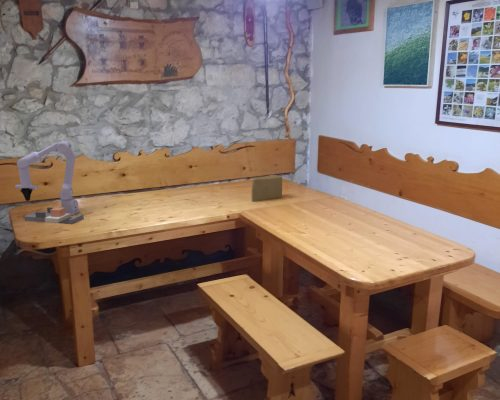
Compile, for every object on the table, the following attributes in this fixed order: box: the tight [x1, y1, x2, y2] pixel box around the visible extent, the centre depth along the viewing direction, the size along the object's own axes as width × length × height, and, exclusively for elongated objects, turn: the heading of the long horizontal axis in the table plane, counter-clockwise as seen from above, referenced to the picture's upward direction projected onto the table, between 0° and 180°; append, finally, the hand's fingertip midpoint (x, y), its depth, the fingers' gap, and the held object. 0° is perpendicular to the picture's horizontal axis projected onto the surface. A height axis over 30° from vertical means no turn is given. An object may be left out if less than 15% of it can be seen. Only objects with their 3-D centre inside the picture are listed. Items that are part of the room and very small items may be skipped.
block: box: [50, 206, 66, 217], centre depth 294 cm, size 6×6×4 cm
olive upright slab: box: [251, 174, 283, 202], centre depth 333 cm, size 22×10×15 cm, turn 127°
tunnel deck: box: [23, 206, 85, 225], centre depth 294 cm, size 32×11×6 cm, turn 74°
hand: (27, 200), depth 302 cm, fingers closed
